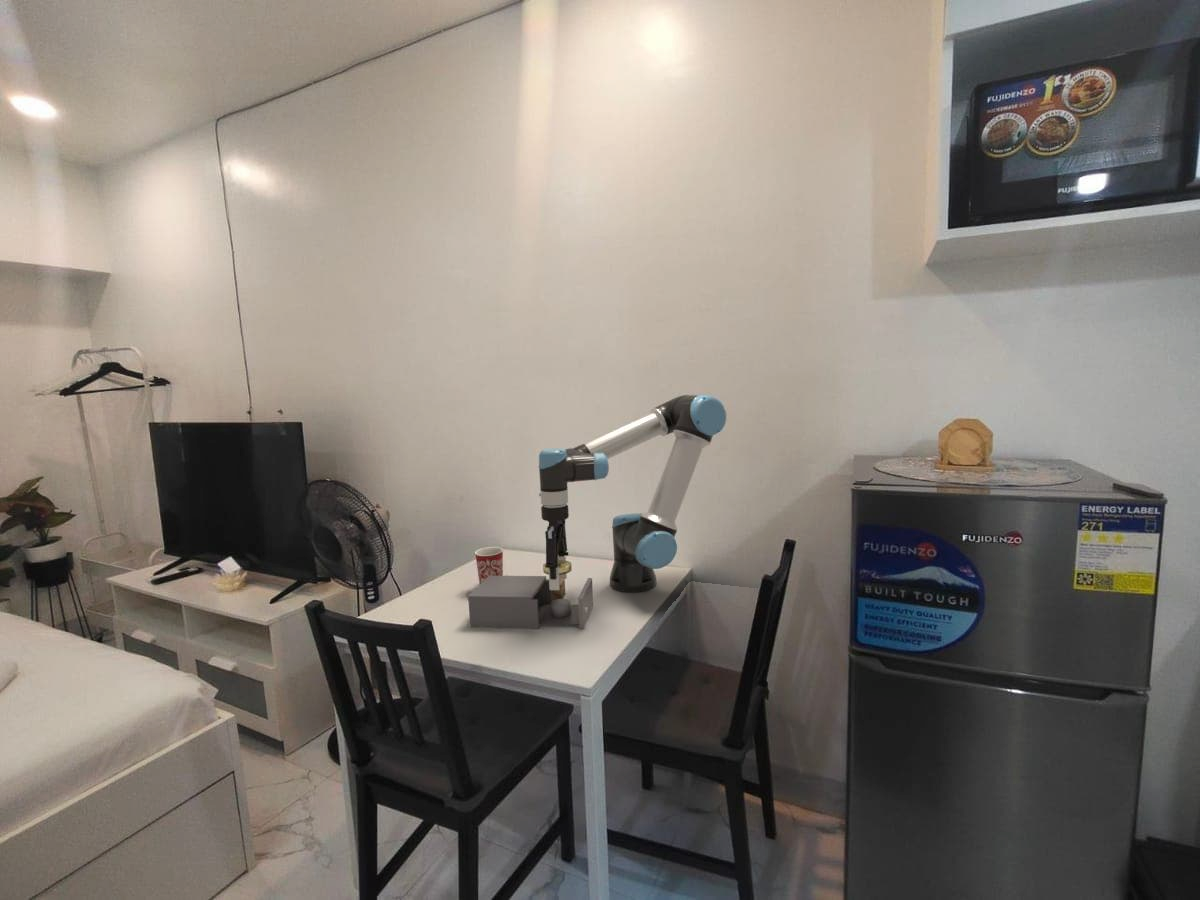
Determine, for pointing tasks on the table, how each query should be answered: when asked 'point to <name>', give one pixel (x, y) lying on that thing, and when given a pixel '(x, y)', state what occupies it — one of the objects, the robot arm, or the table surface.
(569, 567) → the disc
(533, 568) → the table surface
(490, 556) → the mug
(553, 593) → the brown wooden cube
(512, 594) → the housing
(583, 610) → the tray
